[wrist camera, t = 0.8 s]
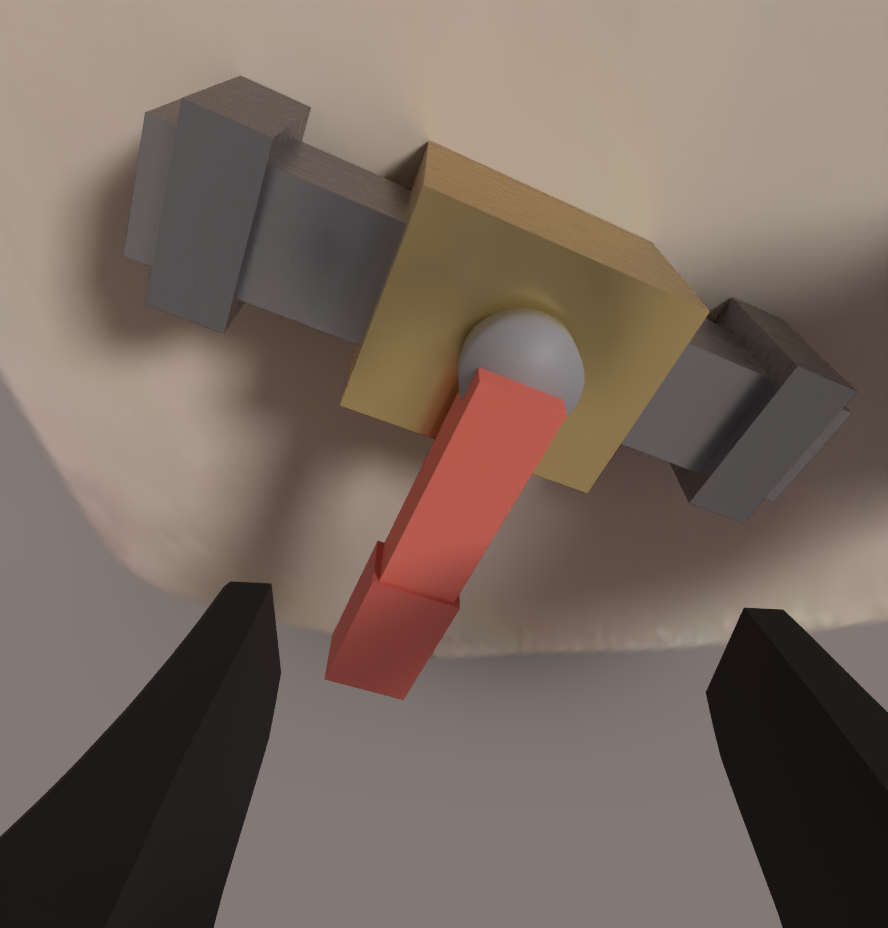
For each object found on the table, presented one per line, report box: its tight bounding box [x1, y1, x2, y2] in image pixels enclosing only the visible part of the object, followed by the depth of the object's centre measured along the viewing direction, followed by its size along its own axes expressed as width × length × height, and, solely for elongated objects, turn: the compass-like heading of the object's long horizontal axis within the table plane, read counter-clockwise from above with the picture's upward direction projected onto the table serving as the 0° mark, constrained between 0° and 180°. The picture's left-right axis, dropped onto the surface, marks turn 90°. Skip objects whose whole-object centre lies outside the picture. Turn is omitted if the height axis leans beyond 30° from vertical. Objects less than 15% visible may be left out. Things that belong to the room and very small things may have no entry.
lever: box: [325, 308, 585, 700], centre depth 15 cm, size 10×2×2 cm, turn 157°
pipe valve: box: [123, 76, 857, 523], centre depth 16 cm, size 16×5×5 cm, turn 67°
